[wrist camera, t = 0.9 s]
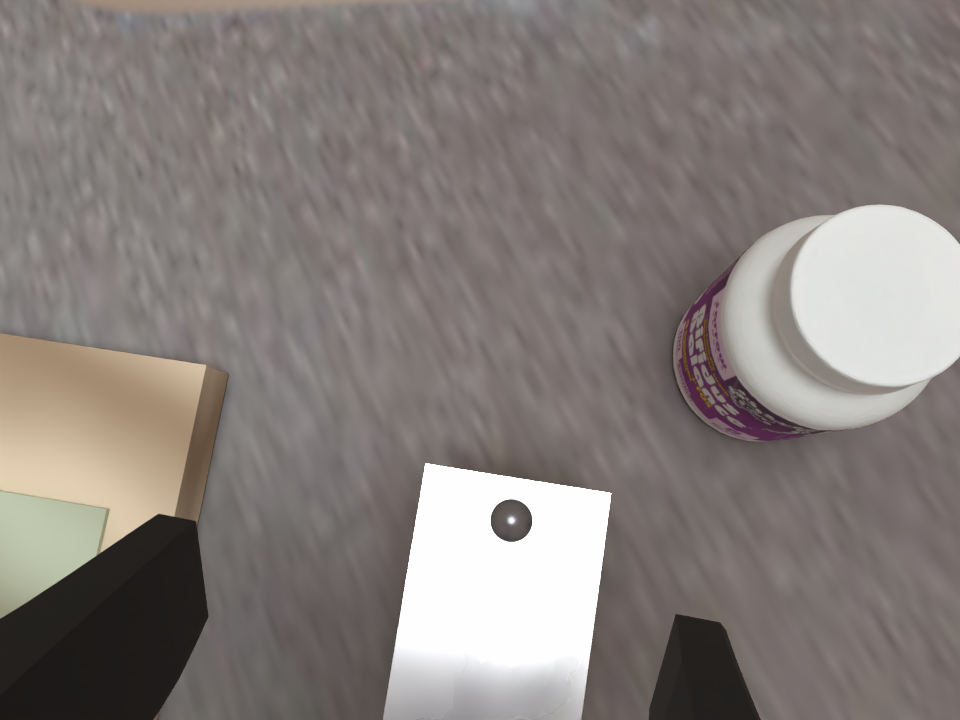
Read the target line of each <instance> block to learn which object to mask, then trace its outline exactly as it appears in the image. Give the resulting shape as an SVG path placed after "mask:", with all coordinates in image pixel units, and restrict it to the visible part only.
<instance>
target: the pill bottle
mask: <svg viewBox="0 0 960 720" xmlns="http://www.w3.org/2000/svg"><path fill="white" fill-rule="evenodd" d="M959 357H960V244H959V243H958V242H957V241H956V239H955V238H954V237H953V236H952V235H951V234H950V233H949V232H948V231H947V230H946V229H944V228H943V227H942V226H940V225H939V224H938V223H936V222H935V221H933V220H931V219H930V218H928V217H926V216H924V215H922V214H920V213H917V212H915V211H912V210H909V209H906V208H903V207H898V206H891V205H867V206H862V207H857V208H853V209H850V210H847V211H844V212H841V213H839V214H837V215H820V216H812V217H807V218H802V219H798V220H795V221H792V222H789V223H787V224H784V225H782V226H780V227H778V228H776V229H774V230H772V231H770V232H768V233H766V234H765V235H763V236H762V237H760V238H759V239H757V240H756V241H755V242H754V243H753V244H752V245H751V246H750V247H749V248H748V249H747V250H746V251H745V252H744V253H743V254H742V255H741V256H740V257H739V258H738V259H737V260H736V261H735V262H734V263H733V264H732V265H731V266H730V267H729V268H728V269H727V270H726V271H725V272H724V273H723V274H722V275H721V276H720V277H719V278H718V279H717V280H715V281H714V282H713V283H712V284H711V285H710V286H709V287H708V288H707V289H706V290H705V291H704V292H703V293H702V294H701V295H700V296H699V297H698V298H697V300H696V301H695V302H694V303H693V304H692V305H691V306H690V308H689V309H688V310H687V312H686V313H685V315H684V317H683V319H682V320H681V322H680V325H679V327H678V329H677V333H676V336H675V341H674V347H673V365H674V371H675V375H676V379H677V383H678V386H679V388H680V391H681V393H682V395H683V397H684V398H685V400H686V402H687V403H688V405H689V406H690V408H691V409H692V410H693V411H694V412H695V413H696V414H697V415H698V416H699V417H700V418H701V419H702V420H703V421H704V422H705V423H707V424H708V425H709V426H711V427H713V428H714V429H716V430H717V431H719V432H721V433H724V434H726V435H728V436H730V437H734V438H738V439H742V440H746V441H756V442H764V441H777V440H784V439H792V438H798V437H804V436H810V435H817V434H823V433H829V432H835V431H842V430H849V429H857V428H860V427H863V426H867V425H870V424H873V423H875V422H878V421H880V420H883V419H885V418H887V417H889V416H891V415H893V414H895V413H896V412H898V411H899V410H901V409H902V408H904V407H905V406H906V405H908V404H909V403H910V402H911V401H913V400H914V399H915V398H916V397H917V395H918V394H919V393H920V392H921V391H922V390H923V389H924V388H925V386H926V385H927V384H928V382H929V381H930V379H931V378H933V377H934V376H936V375H938V374H940V373H941V372H943V371H944V370H945V369H947V368H948V367H949V366H951V365H952V364H953V363H954V362H955V361H956V360H957V359H958V358H959Z"/></svg>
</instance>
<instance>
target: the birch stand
mask: <svg viewBox="0 0 960 720" xmlns="http://www.w3.org/2000/svg"><path fill="white" fill-rule="evenodd" d="M227 379H228V374H227V373H224V372H222V371H219V370H217V369H214V368H212V367H210V366H207V365H202V364H196V363H189V362H183V361H176V360H170V359H163V358H157V357H150V356H144V355H137V354H131V353H124V352H118V351H111V350H105V349H98V348H92V347H85V346H79V345H72V344H66V343H60V342H53V341H47V340H40V339H34V338H27V337H21V336H14V335H8V334H1V333H0V618H2V617H4V616H5V615H7V614H9V613H10V612H12V611H14V610H15V609H17V608H18V607H20V606H22V605H23V604H25V603H26V602H28V601H29V600H31V599H32V598H34V597H35V596H37V595H38V594H40V593H42V592H43V591H45V590H46V589H48V588H49V587H51V586H52V585H54V584H55V583H57V582H58V581H60V580H61V579H63V578H64V577H66V576H67V575H69V574H70V573H72V572H73V571H75V570H76V569H78V568H79V567H81V566H82V565H83V564H85V563H86V562H88V561H89V560H91V559H92V558H94V557H95V556H97V555H98V554H100V553H101V552H103V551H104V550H105V549H107V548H108V547H110V546H111V545H113V544H114V543H116V542H117V541H119V540H120V539H122V538H123V537H124V536H126V535H127V534H129V533H130V532H132V531H133V530H135V529H136V528H138V527H139V526H141V525H142V524H144V523H145V522H147V521H148V520H150V519H151V518H153V517H154V516H156V515H157V514H163V515H168V516H174V517H179V518H184V519H189V520H194V521H196V525H197V524H198V519H199V514H200V509H201V505H202V500H203V495H204V490H205V485H206V481H207V476H208V471H209V466H210V461H211V456H212V452H213V447H214V442H215V437H216V432H217V427H218V423H219V418H220V413H221V408H222V403H223V399H224V394H225V389H226V384H227ZM157 717H158V713H157V715H156V717H155V718H154V720H157Z"/></svg>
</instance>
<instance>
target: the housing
mask: <svg viewBox="0 0 960 720" xmlns="http://www.w3.org/2000/svg"><path fill="white" fill-rule="evenodd" d="M610 498H611V493H607V492H600V491H594V490H588V489H582V488H575V487H569V486H563V485H556V484H550V483H544V482H538V481H531V480H525V479H519V478H513V477H506V476H500V475H494V474H487V473H481V472H475V471H469V470H462V469H456V468H450V467H443V466H437V465H431V464H425V470H424V476H423V482H422V488H421V494H420V500H419V506H418V512H417V518H416V524H415V530H414V536H413V542H412V548H411V554H410V560H409V566H408V572H407V578H406V584H405V590H404V596H403V602H402V608H401V614H400V620H399V626H398V632H397V638H396V643H395V649H394V655H393V661H392V667H391V673H390V679H389V685H388V691H387V697H386V703H385V709H384V715H383V720H581V718H582V710H583V702H584V695H585V687H586V680H587V672H588V665H589V657H590V650H591V642H592V634H593V627H594V619H595V612H596V604H597V597H598V589H599V581H600V574H601V566H602V559H603V551H604V544H605V536H606V528H607V521H608V513H609V506H610Z"/></svg>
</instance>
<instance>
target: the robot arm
mask: <svg viewBox="0 0 960 720" xmlns="http://www.w3.org/2000/svg"><path fill="white" fill-rule="evenodd" d="M207 618H208V610H207V602H206V594H205V587H204V579H203V571H202V564H201V556H200V548H199V541H198V533H197V525H196V521H194V520H189V519H184V518H179V517H174V516H168V515H163V514H157V515H156V516H154V517H153V518H151V519H150V520H148V521H147V522H145V523H144V524H142V525H141V526H139V527H138V528H136V529H135V530H133V531H132V532H130V533H129V534H127V535H126V536H124V537H123V538H122V539H120V540H119V541H117V542H116V543H114V544H113V545H111V546H110V547H108V548H107V549H105V550H104V551H103V552H101V553H100V554H98V555H97V556H95V557H94V558H92V559H91V560H89V561H88V562H86V563H85V564H83V565H82V566H81V567H79V568H78V569H76V570H75V571H73V572H72V573H70V574H69V575H67V576H66V577H64V578H63V579H61V580H60V581H58V582H57V583H55V584H54V585H52V586H51V587H49V588H48V589H46V590H45V591H43V592H42V593H40V594H38V595H37V596H35V597H34V598H32V599H31V600H29V601H28V602H26V603H25V604H23V605H22V606H20V607H18V608H17V609H15V610H14V611H12V612H10V613H9V614H7V615H5V616H4V617H2V618H0V720H154V718H155V717H156V715H157V713H158V712H159V710H160V709H161V707H162V705H163V704H164V702H165V701H166V699H167V697H168V696H169V694H170V693H171V691H172V689H173V688H174V686H175V684H176V683H177V681H178V679H179V678H180V676H181V673H182V671H183V669H184V667H185V665H186V663H187V661H188V659H189V657H190V655H191V653H192V651H193V649H194V647H195V645H196V642H197V640H198V638H199V636H200V634H201V631H202V629H203V627H204V625H205V623H206V621H207ZM649 720H761V719H760V717H759V715H758V712H757V710H756V708H755V705H754V703H753V700H752V698H751V696H750V693H749V691H748V689H747V686H746V683H745V681H744V678H743V676H742V673H741V671H740V668H739V666H738V663H737V660H736V658H735V655H734V652H733V649H732V646H731V644H730V641H729V638H728V635H727V632H726V630H725V628H724V627H723V626H722V624H721V623H719V622H714V621H709V620H704V619H699V618H694V617H689V616H683V615H678V614H676V615H675V619H674V623H673V626H672V630H671V633H670V637H669V641H668V644H667V648H666V651H665V655H664V659H663V662H662V666H661V669H660V673H659V677H658V680H657V684H656V687H655V691H654V695H653V698H652V702H651V705H650V709H649Z"/></svg>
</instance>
